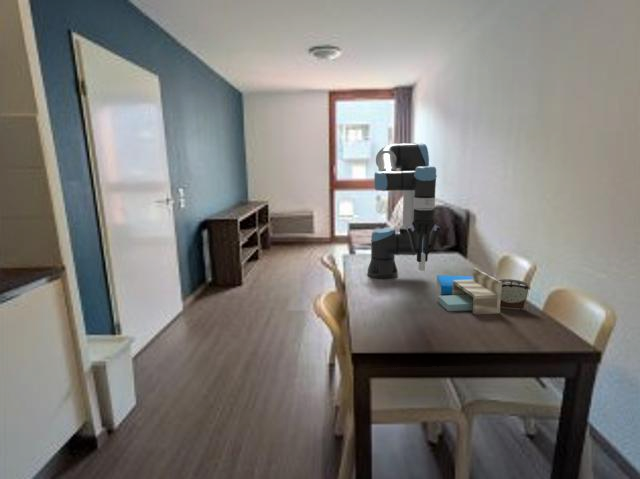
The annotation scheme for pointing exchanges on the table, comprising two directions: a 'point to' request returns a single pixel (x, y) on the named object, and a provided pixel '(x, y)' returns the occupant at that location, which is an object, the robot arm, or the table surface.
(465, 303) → the teal square tile
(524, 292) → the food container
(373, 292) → the table surface
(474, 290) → the shelf
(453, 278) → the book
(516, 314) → the table surface
